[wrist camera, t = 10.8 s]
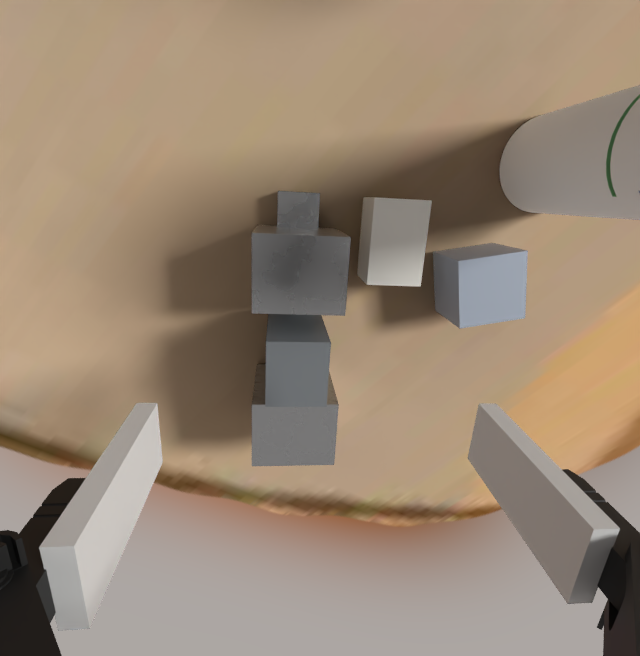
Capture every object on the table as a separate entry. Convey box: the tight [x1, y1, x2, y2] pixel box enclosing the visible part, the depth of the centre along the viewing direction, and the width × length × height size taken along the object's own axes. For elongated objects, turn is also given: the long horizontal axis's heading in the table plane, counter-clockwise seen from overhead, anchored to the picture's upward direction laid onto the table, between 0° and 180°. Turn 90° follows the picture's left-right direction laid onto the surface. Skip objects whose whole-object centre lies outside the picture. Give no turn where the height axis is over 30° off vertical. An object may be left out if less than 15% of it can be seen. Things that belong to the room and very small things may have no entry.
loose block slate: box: [433, 243, 528, 328], centre depth 31 cm, size 5×5×5 cm
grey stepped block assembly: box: [252, 191, 351, 466], centre depth 30 cm, size 20×6×7 cm, turn 177°
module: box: [265, 314, 331, 407], centre depth 29 cm, size 5×4×7 cm
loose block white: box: [357, 197, 432, 287], centre depth 30 cm, size 6×4×4 cm, turn 177°
